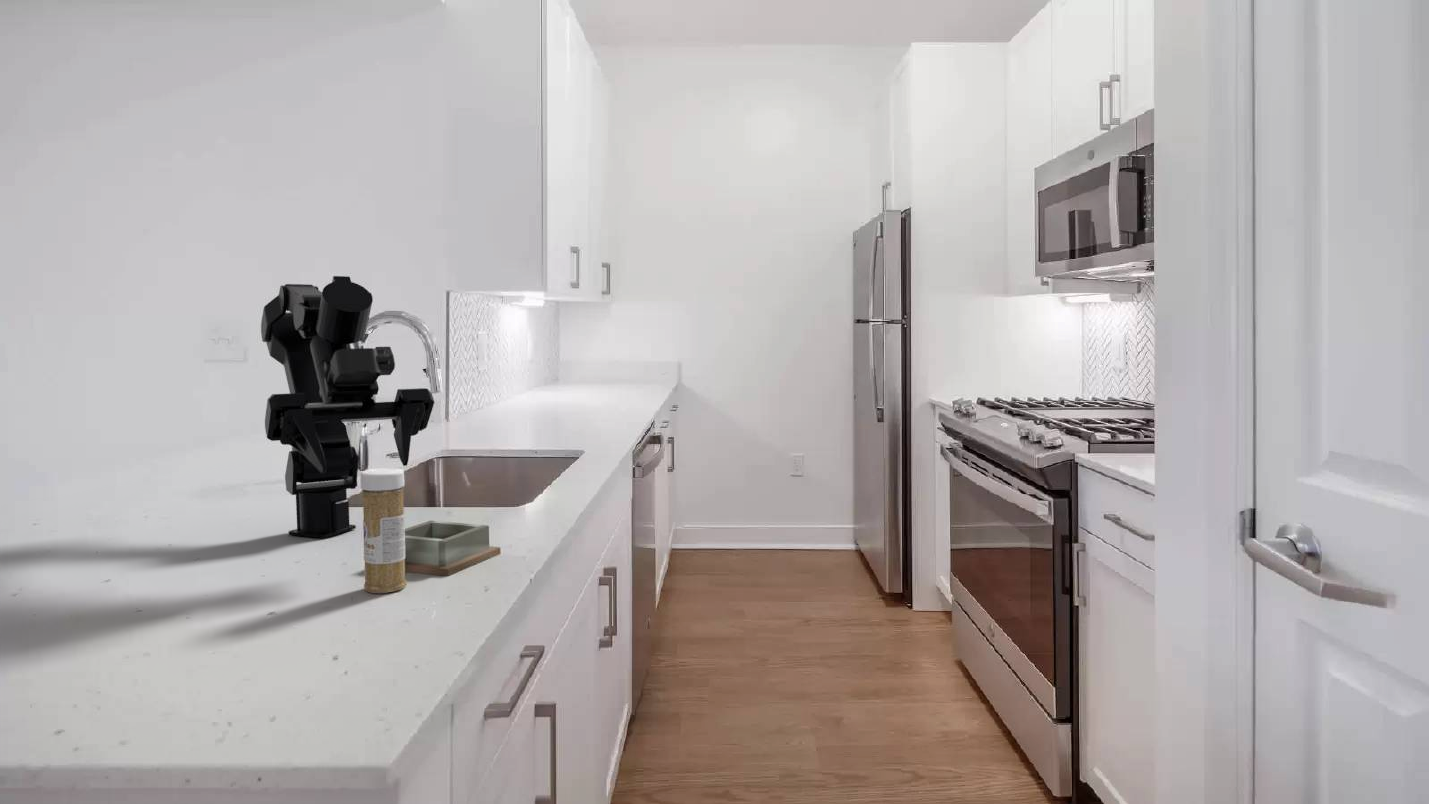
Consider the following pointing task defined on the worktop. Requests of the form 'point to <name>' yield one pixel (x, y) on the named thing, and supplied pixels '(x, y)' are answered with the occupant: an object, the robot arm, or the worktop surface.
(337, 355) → the robot arm
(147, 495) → the worktop surface
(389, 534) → the sprinkles bottle
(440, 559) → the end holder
